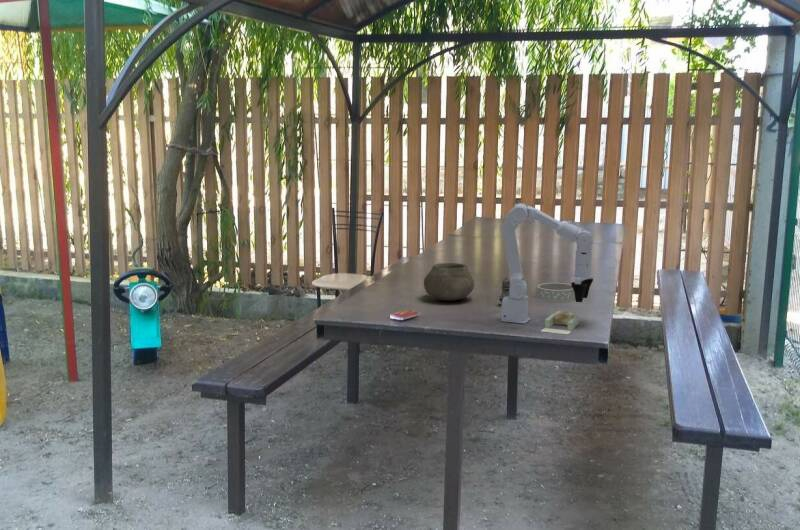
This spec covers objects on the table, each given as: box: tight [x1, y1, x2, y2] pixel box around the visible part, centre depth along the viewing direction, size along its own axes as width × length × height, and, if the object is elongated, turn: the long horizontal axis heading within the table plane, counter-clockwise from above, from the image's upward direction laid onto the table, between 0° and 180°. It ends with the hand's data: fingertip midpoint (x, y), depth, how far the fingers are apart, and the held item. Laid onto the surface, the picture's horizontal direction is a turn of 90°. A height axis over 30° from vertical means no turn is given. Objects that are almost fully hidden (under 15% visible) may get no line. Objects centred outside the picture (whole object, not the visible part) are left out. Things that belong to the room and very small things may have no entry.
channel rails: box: [544, 312, 580, 332], centre depth 285 cm, size 10×11×3 cm
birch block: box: [553, 310, 575, 326], centre depth 288 cm, size 6×4×4 cm
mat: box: [540, 327, 572, 335], centre depth 278 cm, size 10×5×1 cm, turn 64°
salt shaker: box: [498, 276, 510, 307], centre depth 317 cm, size 6×6×12 cm
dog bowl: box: [534, 282, 576, 303], centre depth 331 cm, size 17×18×5 cm
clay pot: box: [423, 262, 475, 302], centre depth 327 cm, size 22×21×15 cm
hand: (581, 299), depth 287 cm, fingers open, 7 cm apart
